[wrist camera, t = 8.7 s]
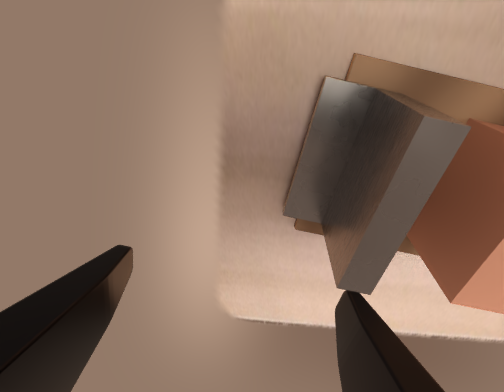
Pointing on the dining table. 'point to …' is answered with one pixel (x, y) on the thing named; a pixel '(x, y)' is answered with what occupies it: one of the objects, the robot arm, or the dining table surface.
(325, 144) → the bookend
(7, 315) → the robot arm
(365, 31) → the dining table surface
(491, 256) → the terracotta rectangular block
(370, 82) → the shelf
